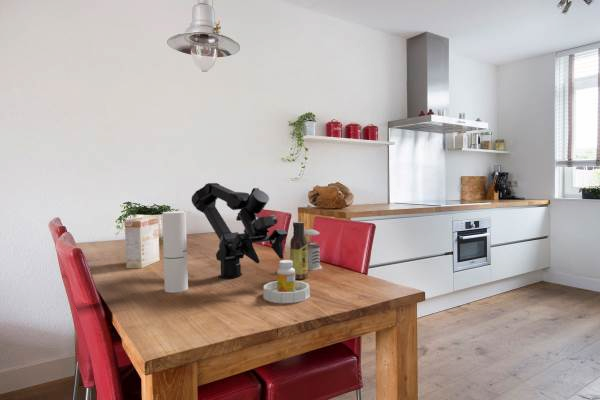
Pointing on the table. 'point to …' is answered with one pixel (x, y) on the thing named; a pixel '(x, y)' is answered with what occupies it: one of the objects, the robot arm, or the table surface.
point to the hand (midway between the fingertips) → (270, 260)
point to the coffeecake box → (141, 242)
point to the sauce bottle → (299, 251)
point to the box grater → (312, 248)
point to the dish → (286, 293)
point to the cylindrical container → (175, 251)
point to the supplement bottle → (286, 276)
